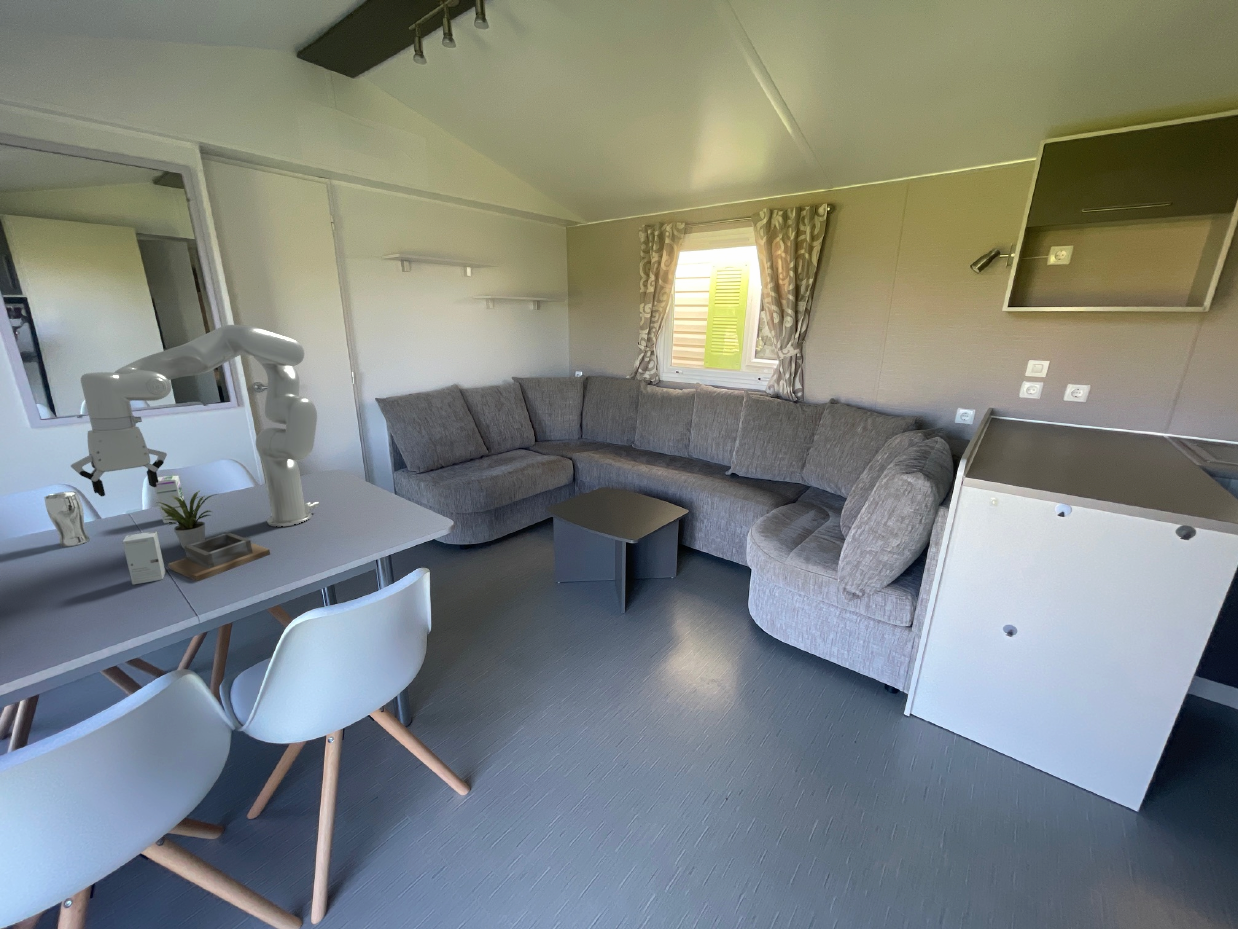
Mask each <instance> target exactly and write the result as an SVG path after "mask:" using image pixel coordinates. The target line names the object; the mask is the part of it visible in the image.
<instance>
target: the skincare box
mask: <svg viewBox="0 0 1238 929" xmlns="http://www.w3.org/2000/svg"><path fill="white" fill-rule="evenodd" d="M159 541H160V540H159V536H158V532H157V531H150V532H149V531H148V532H141V533H136V534H128V535H127V534H126V535H125V537H124V539H123V540H122V546H123V549H124V554H125V559H126V563H127V567H128V571H129V575H130V578H131V579H130V580H131V584H132V585H139V584H144V583H149V582H155V581H161V580H163V579H164V576H165V575H166V569H165V564H164V559H163V555H162V550H161V546H160V542H159Z"/></svg>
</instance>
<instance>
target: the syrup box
mask: <svg viewBox="0 0 1238 929" xmlns="http://www.w3.org/2000/svg"><path fill="white" fill-rule="evenodd" d="M157 477H158V483H156V485H157V487H153V488H154V490H155V491H154V492H155V496H156V500H157V502H161V503H164V504H167V505H170V506H172V507H173V508H175V509H176V510H177V511H178V512H179V513H180V514H181V515H183V516H184V513H183V510H182V508H181V506H180V504H179V502H178V501H177V500H176V499H174V498H173V497H172V496H175V497H177V498H180V499H181V500H182V498H183V499H184V501H185V502H186V500H185V496H184V492H183V489H182V484H181V482H180V477H179V475H178V474H177V475H165V476H157ZM180 496H181V497H182V498H181V497H180ZM182 501H183V500H182ZM158 507H159V511H160V514H161V518H162V521H163V524H170V523H169V522H172V523H178V522H177V521H173V520H164V519H169V518H172V517H165V516H167V515H168V514H166V513H165V512H164V510H163V509H162V508H161V507H165V508H166V509H170V508H168V507H167V506H165V505H163V504H160V503H158ZM170 510H171V509H170ZM163 517H164V518H163ZM184 517H185V516H184Z"/></svg>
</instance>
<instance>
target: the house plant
mask: <svg viewBox="0 0 1238 929" xmlns="http://www.w3.org/2000/svg"><path fill="white" fill-rule="evenodd" d="M200 491H201V490H197V491H196V492H195V493H194V494H193V495H192V497H191V498H190V500H189V508H188V506H187V503H186V500H185V498H184V499H183V498H182V497H181V496H180V497H181V498H182V500H183V501H182V500H181V499H180V498H177V497H175V496H172V497H173V498H174V499H176V500H177V501H178V502H179V504H180V506H181V508H182V510H183V513H184V516H185V517H184V516H183V515H181V514H180V513H179V512H178V511H177V510H176V509H175V508H173V507H172V506H170V505H167V504H164V503H161V502H158V501H157V502H156V503H160V504H163V505H165V506H167V507H168V508H170V509H171V510H170V509H166V508H165V507H161V508H162V509H163V510H164V512H165V513H166V514H168V515H167V516H165V517H172V518H169V519H164V520H173V521H177V522H172V523H168V526H171V525H176V526H175V527H174V528H173V530H174V533H175V535H176V536H177V538H178V541H179V543H180V545H181V547H182V548H183V550H185V547H184V546H187V545H190V544H193V543H197V542H200V541H203V540H206V523H205V522H204V521H200V520H201V519H203V518H206V517H209V516H212V517H213V515H212V514H208V513H210V512H211V513H213V511H212V510H205V511H203V512H201V514H199V516H198V517H197V515H198V512H199V510H200V509H201V507H202V505H203V504H205V502H206V501H207V500H208V499H209V498H211V497H213V496H217V495H218V493H215V494H212V495H209V496H207V497H206V496H205V495H203V496H200V497H199V496H198V495H199V493H200ZM205 497H206V498H205ZM198 498H199V500H198V501H197V503H196V505H195V507H194V504H195V501H196V499H198ZM204 498H205V499H204ZM184 500H185V501H184ZM163 518H164V517H163ZM163 518H162V519H163Z"/></svg>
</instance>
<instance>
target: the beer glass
mask: <svg viewBox="0 0 1238 929" xmlns="http://www.w3.org/2000/svg"><path fill="white" fill-rule="evenodd" d="M43 498H44V503H45V508H46V512H47V514H48V518H49V519H50V521H51V523H52V525H53V526H54V527H55V529H56V531H57V532H58V537H59V546H60V547H64V548H67V547H68V548H69V547H76V546H81V545H83V543H84V544H86V543H88V542H89V541H90V539H91V538H90V536H89V535H88V534H87V531H86V528H85V515H84V514H85V513H84V507H83V504H82V501H81V498H80V496H79V493H78V491H61V492H56V493H52V494H48V495H46V496H44V497H43Z"/></svg>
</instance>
